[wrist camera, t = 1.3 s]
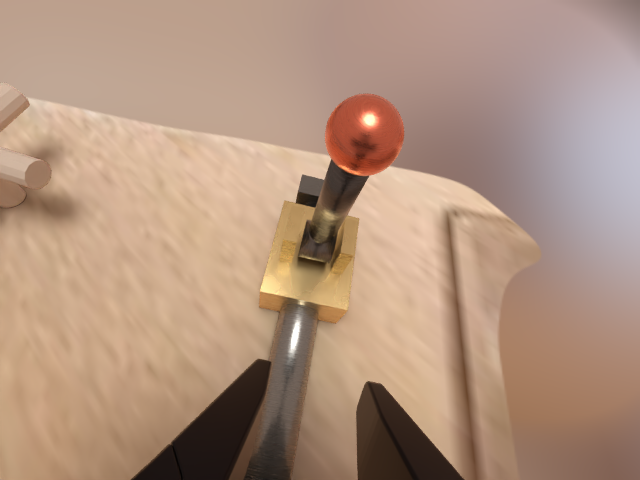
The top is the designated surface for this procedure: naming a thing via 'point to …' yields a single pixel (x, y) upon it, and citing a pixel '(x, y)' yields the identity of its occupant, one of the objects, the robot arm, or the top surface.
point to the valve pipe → (297, 326)
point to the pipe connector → (17, 155)
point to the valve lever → (351, 165)
